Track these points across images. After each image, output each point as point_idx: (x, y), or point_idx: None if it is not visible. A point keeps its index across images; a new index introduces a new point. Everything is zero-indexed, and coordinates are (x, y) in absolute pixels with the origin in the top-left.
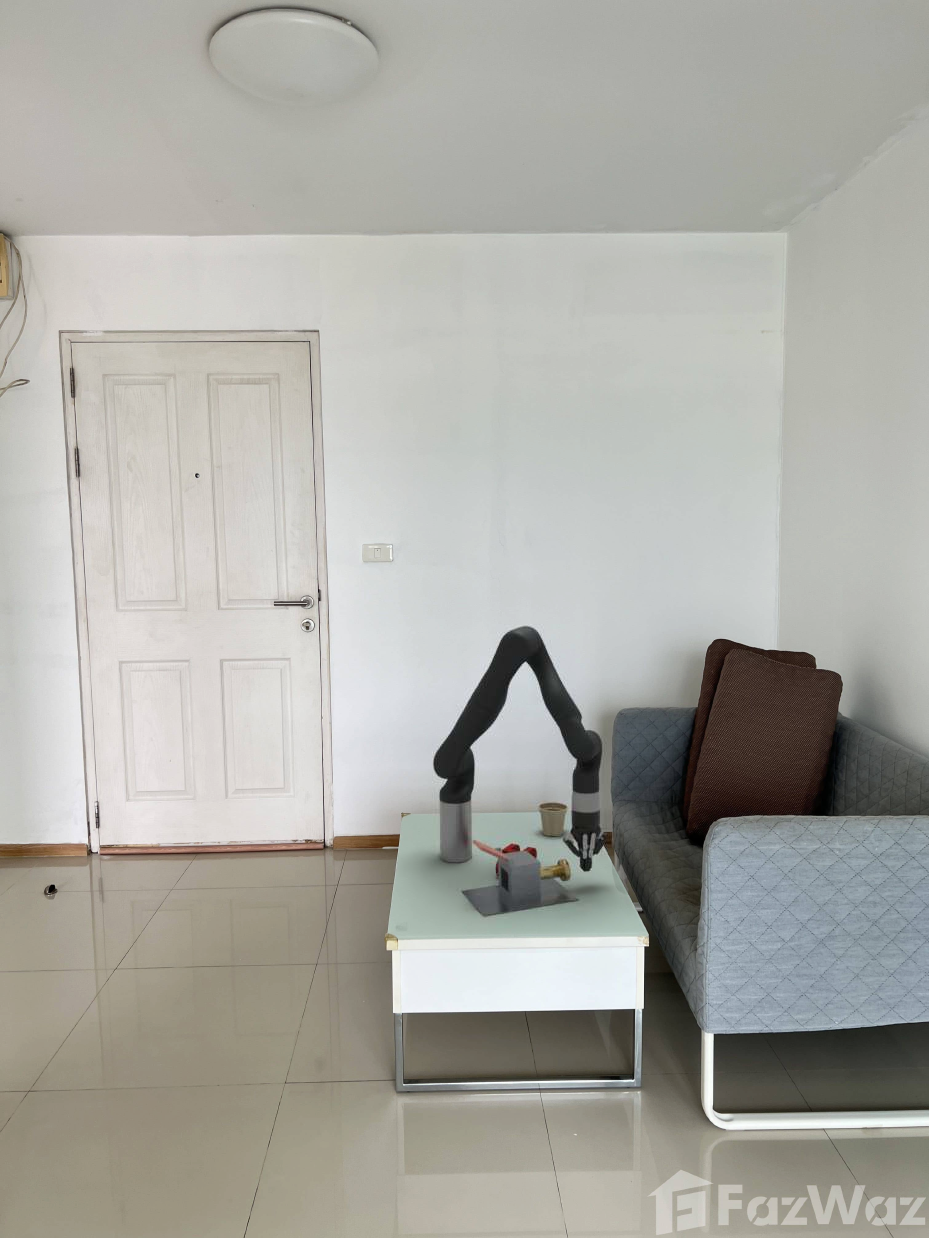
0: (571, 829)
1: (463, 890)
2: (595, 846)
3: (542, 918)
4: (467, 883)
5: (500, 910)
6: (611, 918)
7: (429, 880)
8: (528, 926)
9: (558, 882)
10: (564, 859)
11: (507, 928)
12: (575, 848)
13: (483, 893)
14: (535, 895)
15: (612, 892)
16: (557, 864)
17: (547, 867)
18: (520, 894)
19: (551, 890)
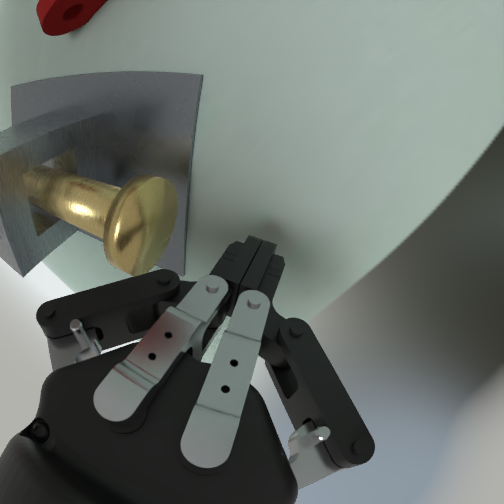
0: (41, 401)
1: (13, 86)
2: (306, 360)
3: (91, 272)
4: (27, 44)
5: None
6: (203, 355)
7: (5, 19)
8: (72, 273)
9: (191, 142)
10: (116, 251)
11: (50, 256)
12: (125, 337)
13: (27, 115)
14: None
15: (305, 308)
16: (124, 188)
17: (71, 219)
18: None
19: None
